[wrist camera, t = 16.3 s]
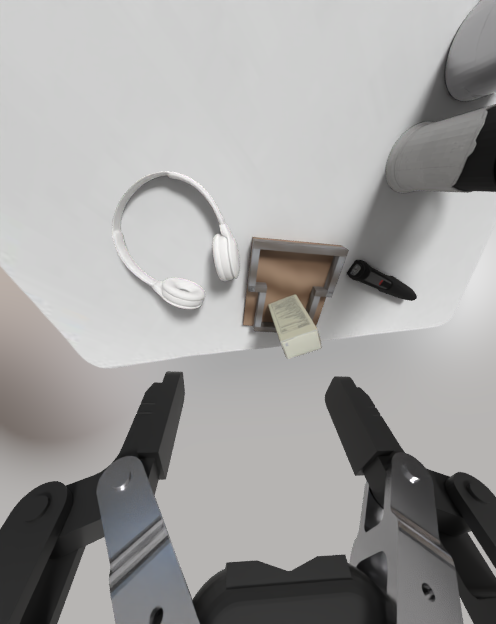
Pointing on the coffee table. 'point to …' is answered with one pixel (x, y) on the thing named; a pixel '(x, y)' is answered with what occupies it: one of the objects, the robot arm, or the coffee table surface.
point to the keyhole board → (290, 277)
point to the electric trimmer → (380, 281)
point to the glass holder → (446, 155)
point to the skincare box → (294, 327)
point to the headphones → (174, 288)
